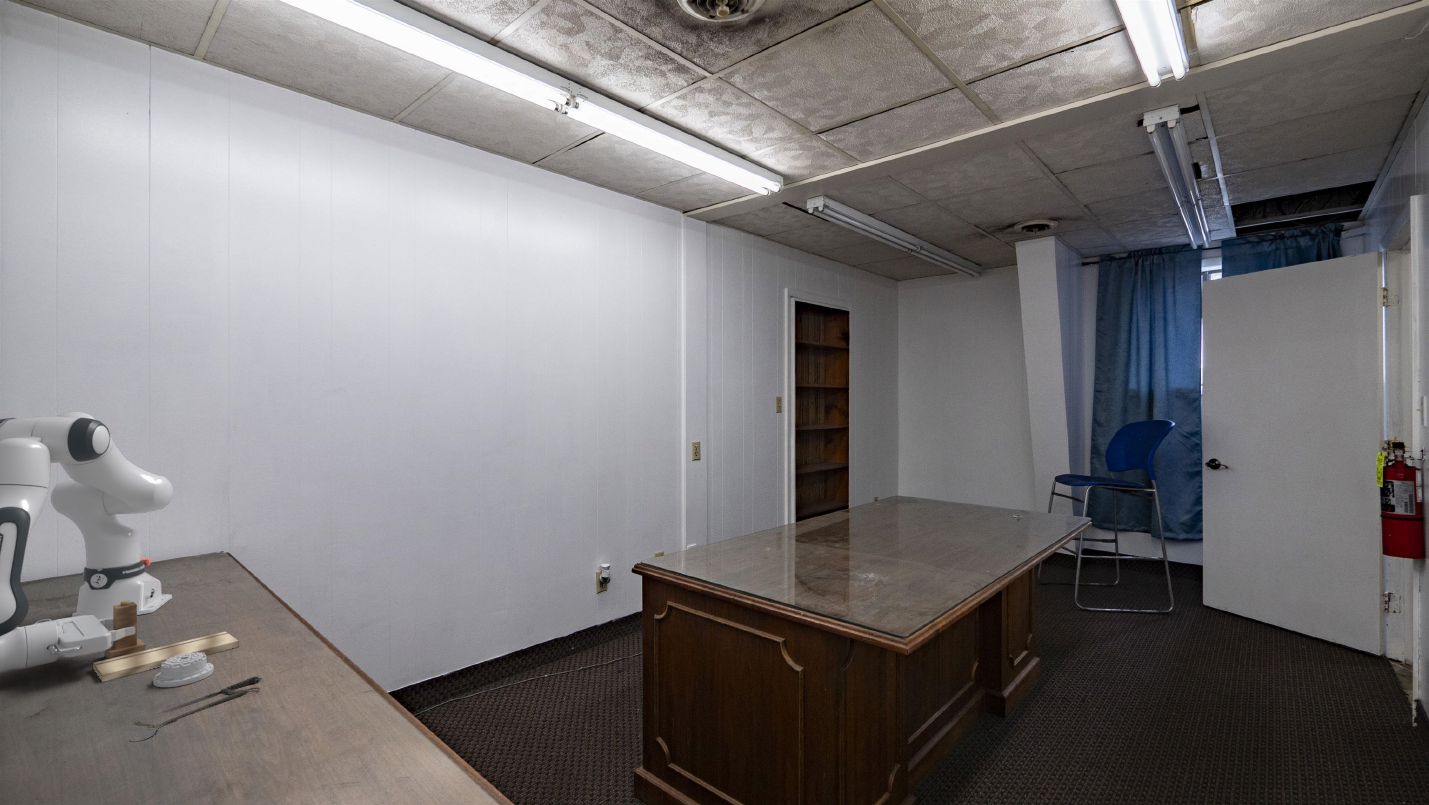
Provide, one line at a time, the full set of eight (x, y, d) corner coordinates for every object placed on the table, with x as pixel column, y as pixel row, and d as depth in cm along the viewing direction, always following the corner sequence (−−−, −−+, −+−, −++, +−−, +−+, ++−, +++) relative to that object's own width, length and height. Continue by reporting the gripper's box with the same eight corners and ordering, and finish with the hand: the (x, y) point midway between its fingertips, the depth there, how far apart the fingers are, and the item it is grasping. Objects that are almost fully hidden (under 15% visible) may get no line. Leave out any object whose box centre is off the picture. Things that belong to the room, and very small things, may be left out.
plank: (102, 681, 133) (102, 674, 133) (93, 669, 139) (93, 662, 139) (238, 646, 152) (238, 640, 152) (225, 637, 158) (225, 631, 158)
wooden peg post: (110, 663, 143) (110, 607, 142) (104, 657, 146) (104, 602, 146) (145, 655, 147) (145, 601, 147) (138, 648, 151) (139, 596, 151)
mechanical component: (140, 686, 132) (178, 691, 130) (140, 665, 132) (178, 669, 130) (189, 666, 142) (225, 671, 140) (189, 647, 142) (225, 651, 140)
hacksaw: (258, 680, 135) (258, 673, 135) (283, 691, 130) (283, 684, 130) (110, 731, 114) (110, 723, 114) (133, 747, 109) (133, 738, 109)
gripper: (52, 640, 130) (140, 621, 141) (37, 618, 142) (120, 603, 153) (52, 670, 130) (140, 649, 141) (37, 646, 142) (120, 628, 153)
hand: (129, 625), depth 147 cm, fingers open, 8 cm apart
